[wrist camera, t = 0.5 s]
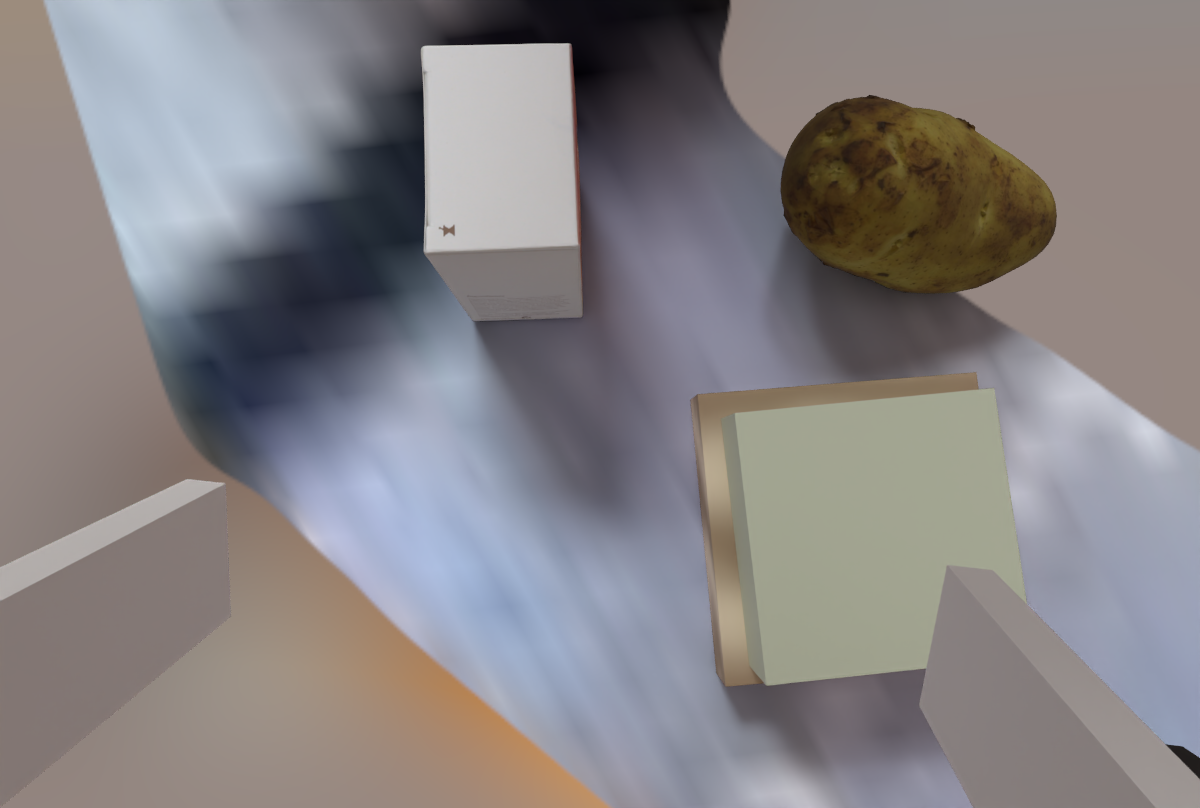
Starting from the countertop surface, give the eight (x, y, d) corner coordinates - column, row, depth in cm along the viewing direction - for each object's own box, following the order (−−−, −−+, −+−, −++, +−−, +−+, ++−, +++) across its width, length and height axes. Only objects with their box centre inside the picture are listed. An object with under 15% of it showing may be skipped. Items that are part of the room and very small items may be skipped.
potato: (967, 364, 35) (1077, 331, 28) (733, 252, 36) (775, 187, 28) (1030, 219, 36) (1154, 146, 28) (800, 111, 37) (860, 9, 29)
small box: (583, 320, 35) (583, 253, 25) (470, 323, 35) (421, 258, 25) (578, 164, 36) (574, 36, 26) (467, 167, 36) (418, 40, 26)
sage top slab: (721, 418, 33) (734, 412, 30) (956, 395, 33) (994, 388, 30) (749, 665, 32) (766, 685, 29) (993, 639, 32) (1034, 656, 29)
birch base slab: (688, 401, 36) (697, 394, 33) (943, 381, 36) (976, 372, 33) (713, 668, 34) (725, 686, 31) (978, 644, 35) (1015, 660, 32)
